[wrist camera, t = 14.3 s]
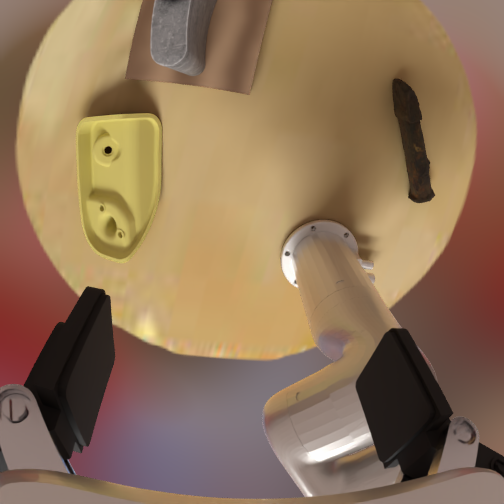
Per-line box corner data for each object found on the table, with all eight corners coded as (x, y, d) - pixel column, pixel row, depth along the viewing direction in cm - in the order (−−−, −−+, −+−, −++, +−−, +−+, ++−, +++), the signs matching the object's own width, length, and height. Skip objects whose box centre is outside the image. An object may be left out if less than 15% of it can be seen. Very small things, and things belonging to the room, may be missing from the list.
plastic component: (75, 118, 36) (124, 113, 33) (112, 115, 42) (162, 112, 39) (84, 251, 44) (130, 267, 41) (116, 236, 50) (163, 248, 47)
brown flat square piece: (275, -16, 31) (278, -23, 28) (248, 94, 39) (249, 94, 36) (158, -30, 29) (154, -37, 26) (132, 79, 36) (125, 78, 34)
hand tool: (425, 191, 46) (440, 201, 42) (405, 197, 47) (419, 208, 43) (407, 77, 38) (423, 77, 34) (384, 80, 38) (400, 80, 34)
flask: (174, 74, 34) (128, 62, 18) (197, -26, 27) (174, -93, 12) (202, 77, 34) (178, 65, 19) (226, -23, 28) (222, -91, 12)
